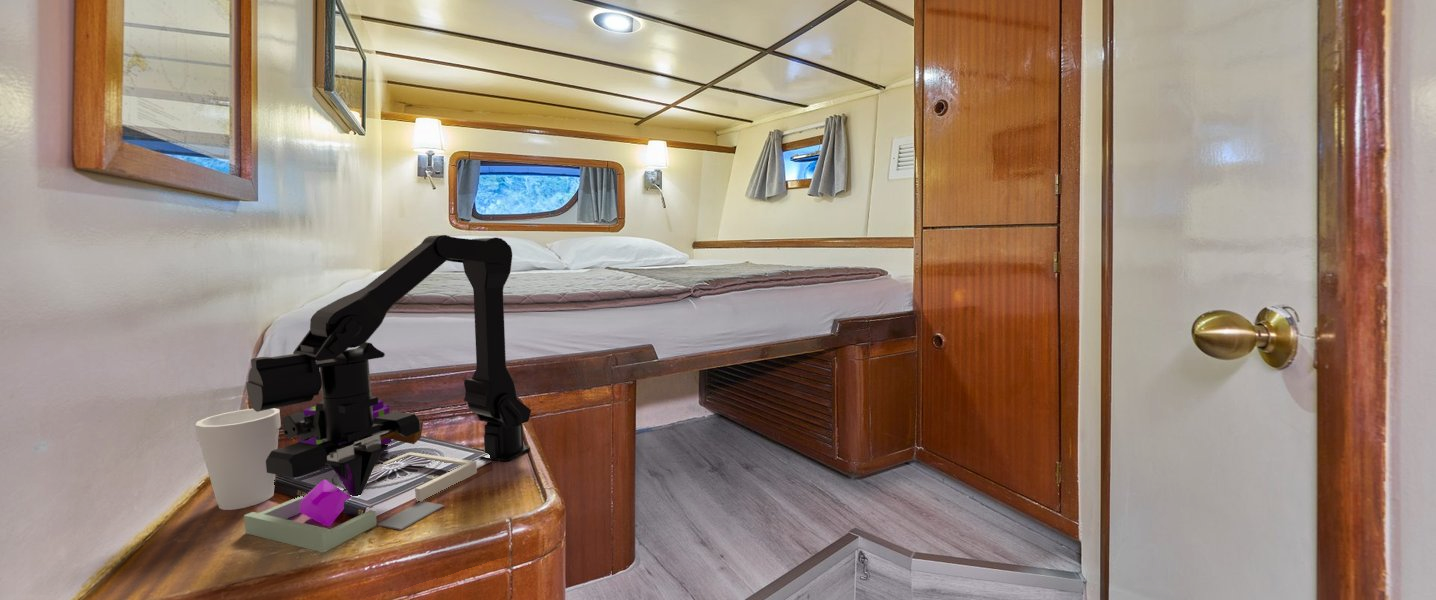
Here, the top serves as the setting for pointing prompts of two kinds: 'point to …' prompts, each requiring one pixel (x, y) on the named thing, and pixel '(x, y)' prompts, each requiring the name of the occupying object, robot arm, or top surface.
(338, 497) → the crystal
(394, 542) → the top surface
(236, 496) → the foam cup
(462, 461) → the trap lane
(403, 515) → the mat
